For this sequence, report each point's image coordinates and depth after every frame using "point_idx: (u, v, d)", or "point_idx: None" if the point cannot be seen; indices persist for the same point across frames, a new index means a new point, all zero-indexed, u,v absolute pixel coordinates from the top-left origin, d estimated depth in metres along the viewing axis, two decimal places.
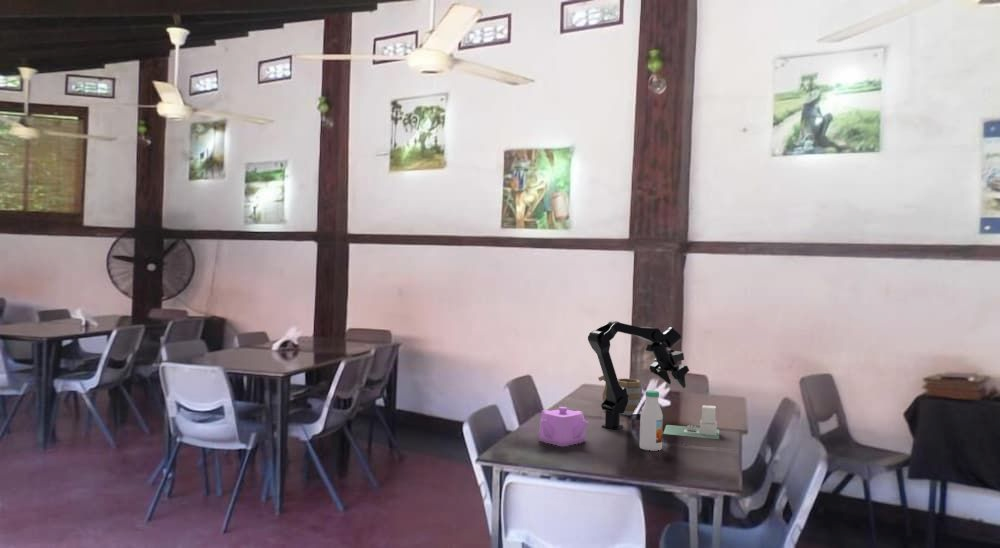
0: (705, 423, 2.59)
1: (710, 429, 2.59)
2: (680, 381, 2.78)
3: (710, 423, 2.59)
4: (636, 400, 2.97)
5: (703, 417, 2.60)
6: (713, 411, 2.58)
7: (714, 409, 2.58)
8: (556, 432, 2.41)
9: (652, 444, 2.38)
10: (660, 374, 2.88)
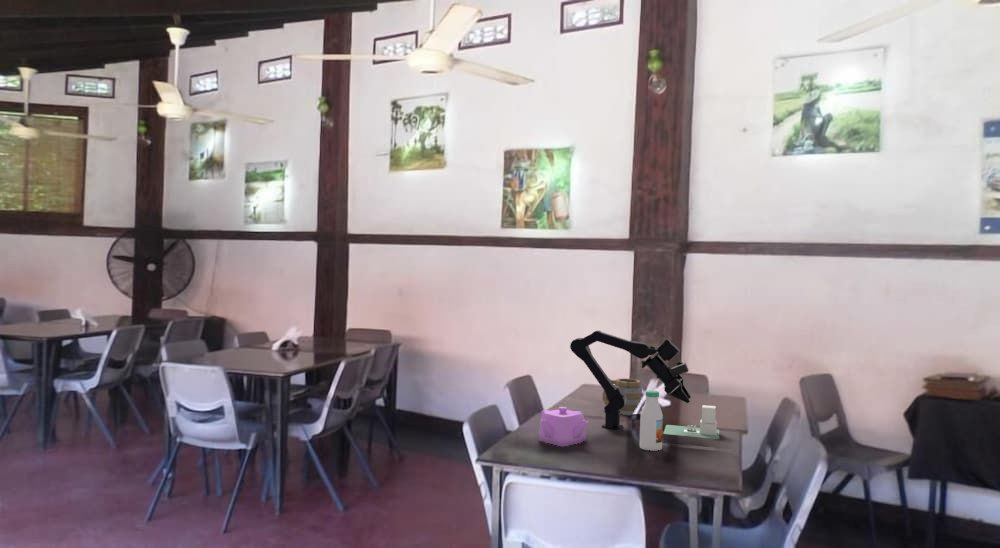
0: (705, 423, 2.59)
1: (710, 429, 2.59)
2: (678, 396, 2.59)
3: (710, 423, 2.59)
4: (636, 400, 2.97)
5: (703, 417, 2.60)
6: (713, 411, 2.58)
7: (714, 409, 2.58)
8: (556, 432, 2.41)
9: (652, 444, 2.38)
10: None
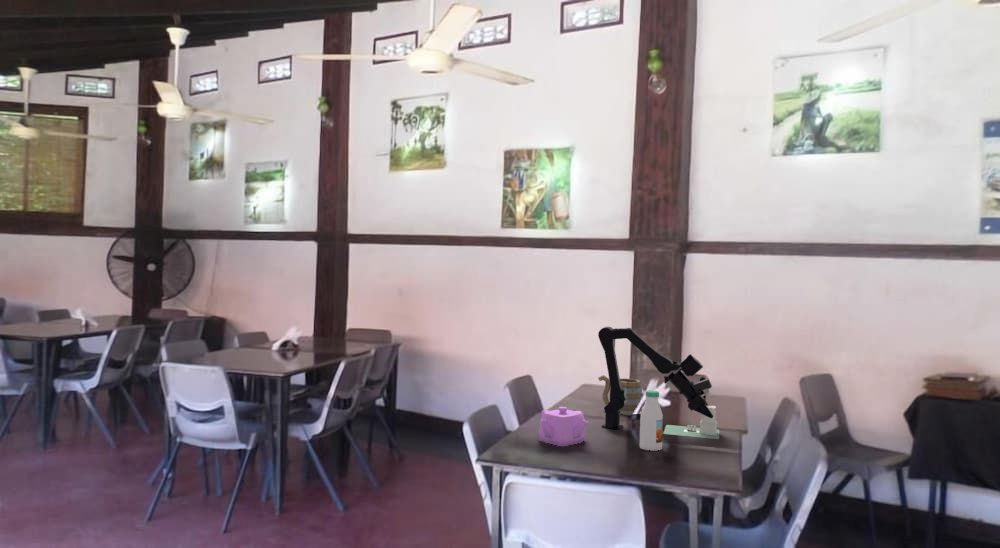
0: (705, 423, 2.59)
1: (710, 429, 2.59)
2: (701, 411, 2.58)
3: (710, 423, 2.59)
4: (636, 400, 2.97)
5: (703, 417, 2.60)
6: (713, 411, 2.58)
7: (714, 409, 2.58)
8: (556, 432, 2.41)
9: (652, 444, 2.38)
10: None
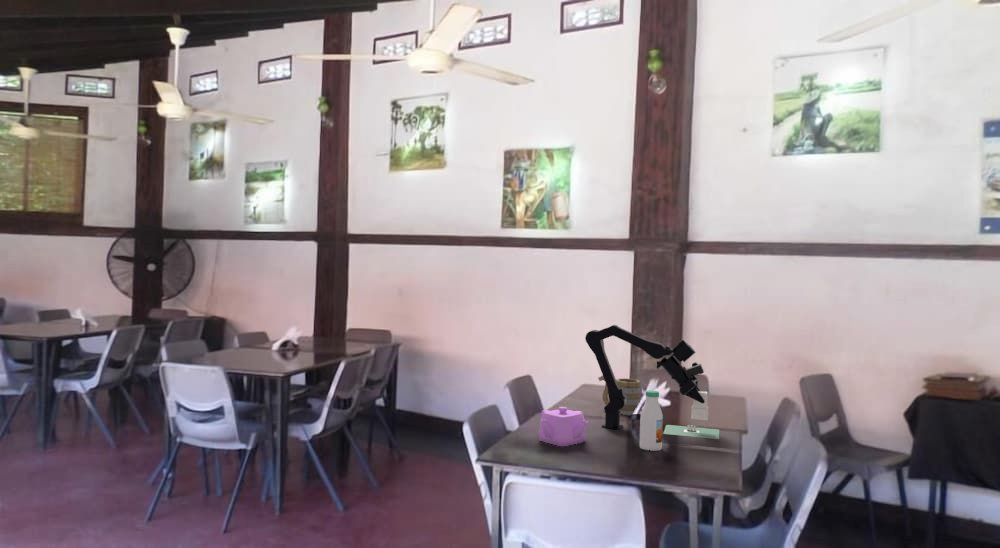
0: (696, 408, 2.60)
1: (701, 414, 2.60)
2: (693, 396, 2.59)
3: (701, 408, 2.60)
4: (636, 400, 2.97)
5: (695, 402, 2.61)
6: (705, 396, 2.59)
7: (706, 394, 2.59)
8: (556, 432, 2.41)
9: (652, 444, 2.38)
10: None
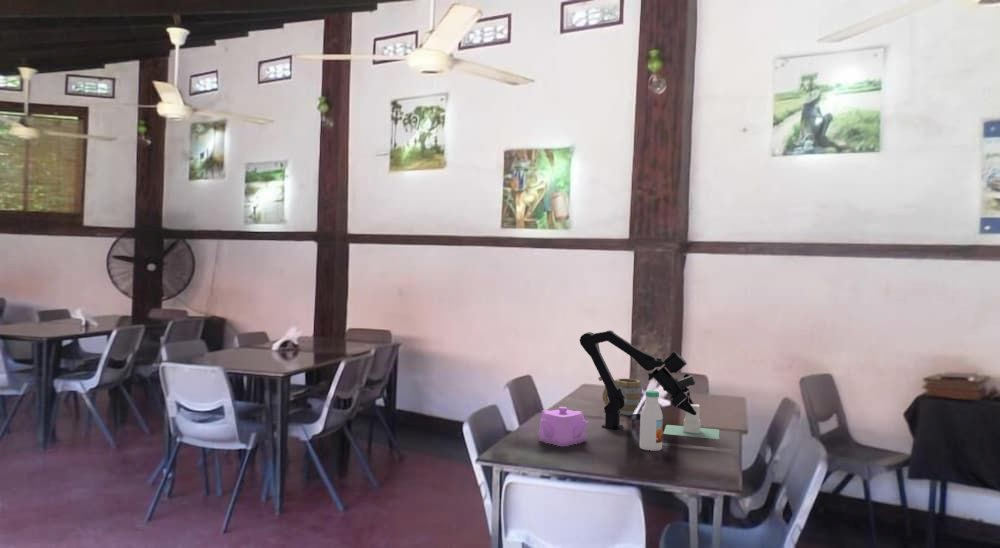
0: (688, 421, 2.61)
1: (693, 427, 2.61)
2: (685, 408, 2.59)
3: (693, 421, 2.61)
4: (636, 400, 2.97)
5: (687, 415, 2.61)
6: (696, 409, 2.60)
7: (697, 407, 2.60)
8: (556, 432, 2.41)
9: (652, 444, 2.38)
10: None
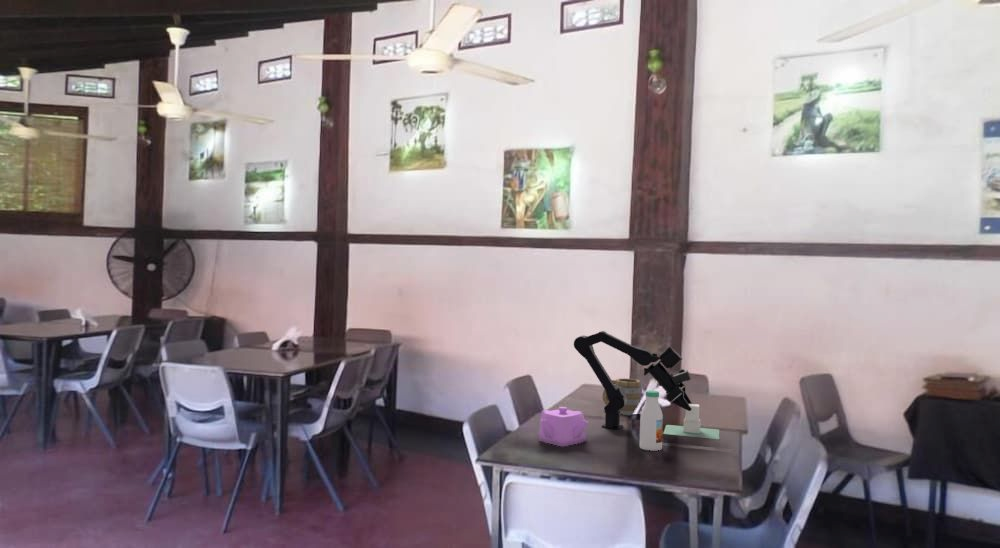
0: (688, 421, 2.61)
1: (693, 427, 2.61)
2: (680, 404, 2.59)
3: (693, 421, 2.61)
4: (636, 400, 2.97)
5: (687, 415, 2.61)
6: (696, 409, 2.60)
7: (697, 407, 2.60)
8: (556, 432, 2.41)
9: (652, 444, 2.38)
10: None
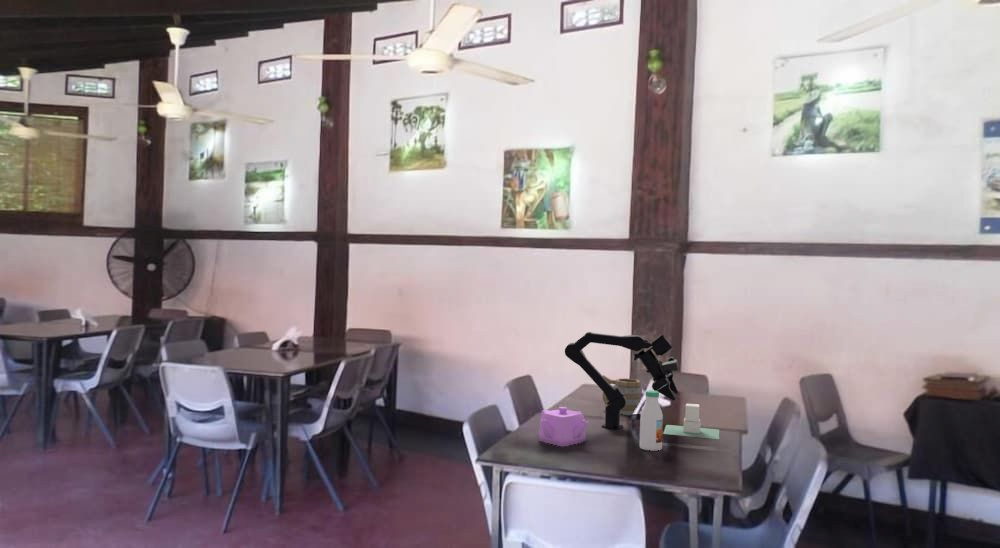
0: (688, 421, 2.61)
1: (693, 427, 2.61)
2: (664, 393, 2.63)
3: (693, 421, 2.61)
4: (636, 400, 2.97)
5: (687, 415, 2.61)
6: (696, 409, 2.60)
7: (697, 407, 2.60)
8: (556, 432, 2.41)
9: (652, 444, 2.38)
10: None
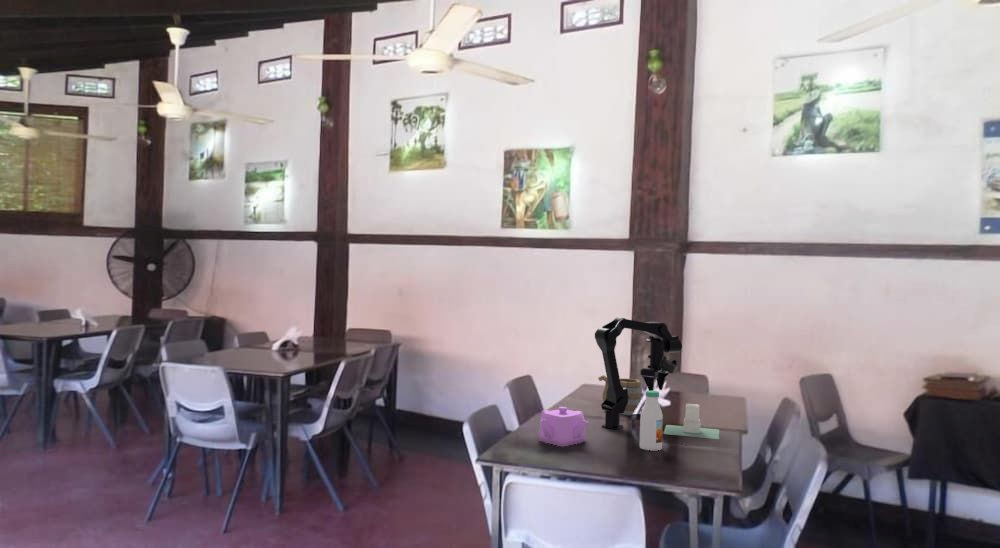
0: (688, 421, 2.61)
1: (693, 427, 2.61)
2: (647, 382, 2.77)
3: (693, 421, 2.61)
4: (636, 400, 2.97)
5: (687, 415, 2.61)
6: (696, 409, 2.60)
7: (697, 407, 2.60)
8: (556, 432, 2.41)
9: (652, 444, 2.38)
10: None
